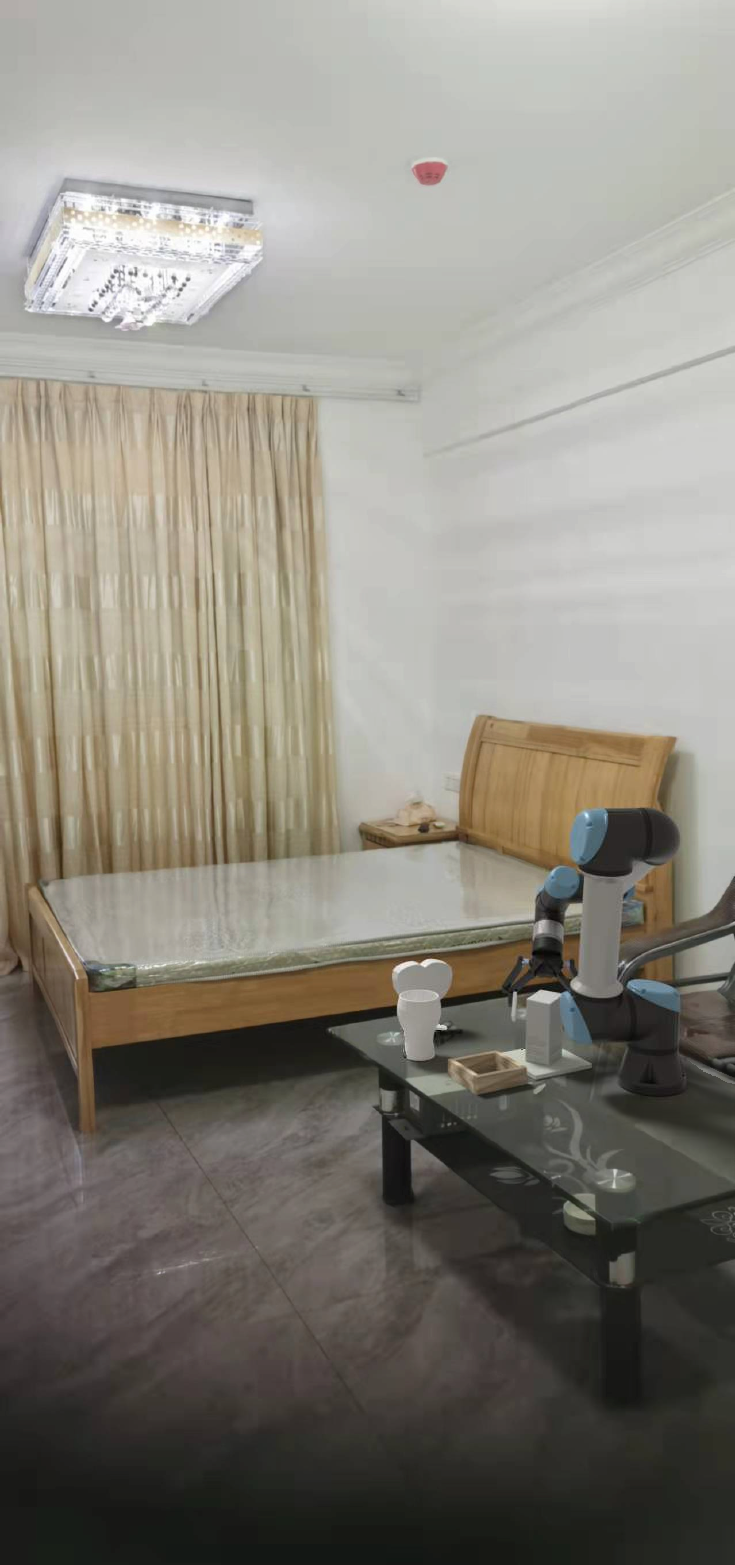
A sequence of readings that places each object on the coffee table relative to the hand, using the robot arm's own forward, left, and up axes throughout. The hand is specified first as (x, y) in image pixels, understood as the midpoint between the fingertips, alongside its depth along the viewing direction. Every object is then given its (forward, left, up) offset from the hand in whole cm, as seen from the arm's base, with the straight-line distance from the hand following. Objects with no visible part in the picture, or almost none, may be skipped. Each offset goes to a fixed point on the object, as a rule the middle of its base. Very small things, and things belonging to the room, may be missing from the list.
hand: (542, 1021), depth 277 cm
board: (+1, -1, -11) cm, 11 cm away
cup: (+19, +23, -11) cm, 31 cm away
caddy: (-2, +17, -11) cm, 20 cm away
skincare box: (0, -1, -10) cm, 10 cm away
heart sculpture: (+35, +13, -11) cm, 38 cm away
